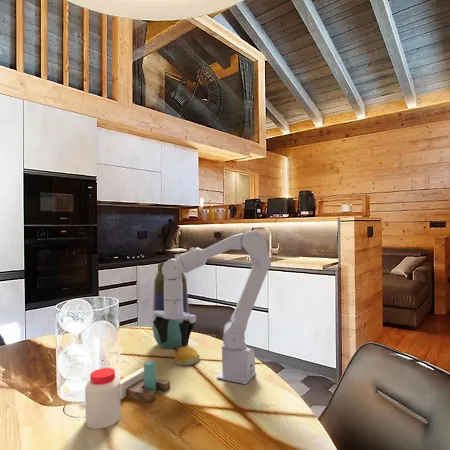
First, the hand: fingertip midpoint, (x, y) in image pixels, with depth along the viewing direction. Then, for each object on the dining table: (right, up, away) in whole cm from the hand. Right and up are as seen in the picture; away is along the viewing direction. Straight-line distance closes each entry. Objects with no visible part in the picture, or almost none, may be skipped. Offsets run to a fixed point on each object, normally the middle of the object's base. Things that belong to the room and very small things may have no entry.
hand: (174, 344), depth 104 cm
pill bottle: (-13, -10, -22) cm, 28 cm away
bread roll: (+2, -10, +13) cm, 17 cm away
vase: (-5, -10, +29) cm, 31 cm away
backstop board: (-10, -10, -7) cm, 16 cm away
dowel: (-5, -10, -10) cm, 15 cm away
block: (-6, -10, -9) cm, 15 cm away
